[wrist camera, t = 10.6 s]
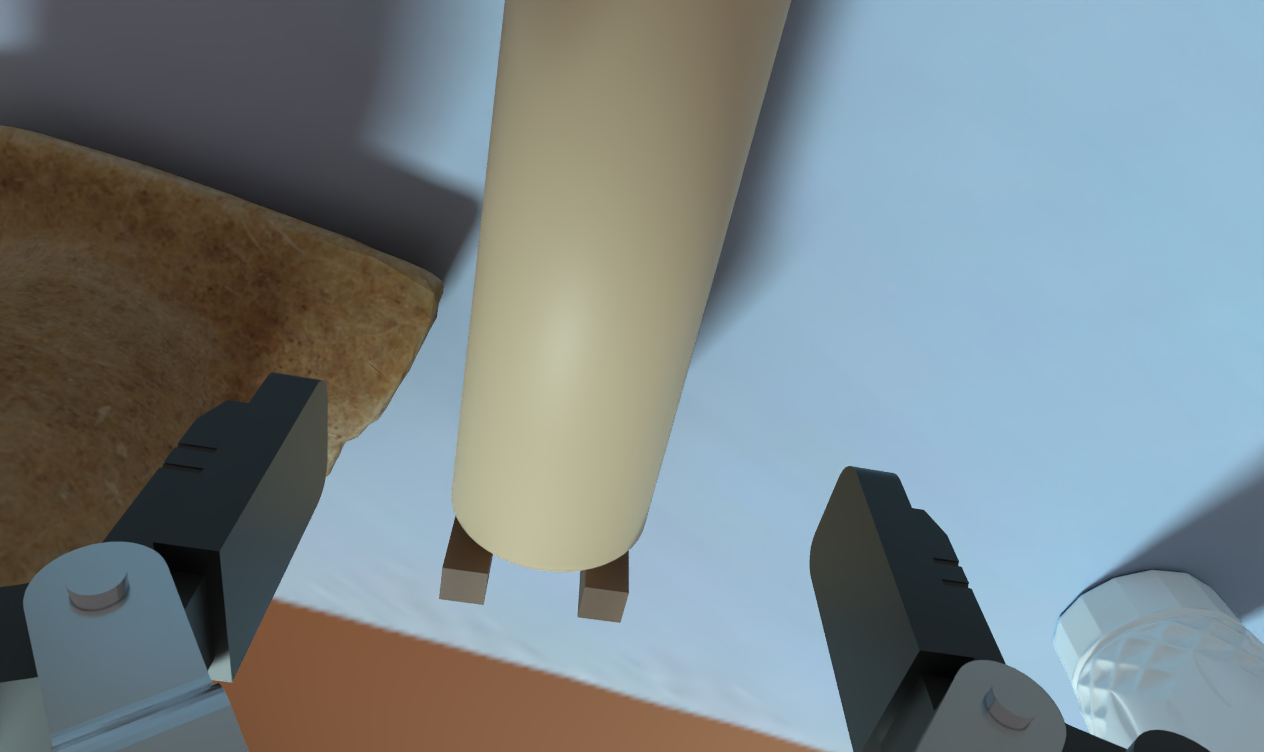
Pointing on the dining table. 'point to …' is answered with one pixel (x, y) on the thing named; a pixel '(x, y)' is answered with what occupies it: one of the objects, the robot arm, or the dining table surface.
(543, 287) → the cylinder
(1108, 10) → the dining table surface
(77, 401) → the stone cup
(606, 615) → the roll stand
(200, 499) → the robot arm
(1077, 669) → the white cup
